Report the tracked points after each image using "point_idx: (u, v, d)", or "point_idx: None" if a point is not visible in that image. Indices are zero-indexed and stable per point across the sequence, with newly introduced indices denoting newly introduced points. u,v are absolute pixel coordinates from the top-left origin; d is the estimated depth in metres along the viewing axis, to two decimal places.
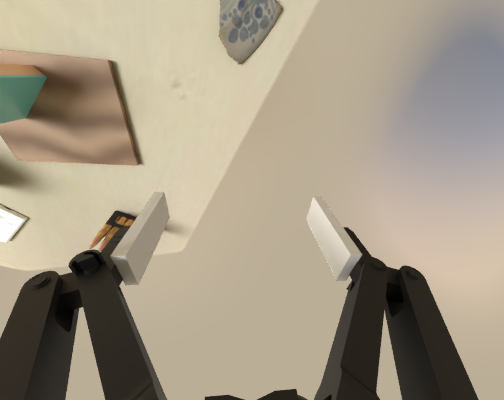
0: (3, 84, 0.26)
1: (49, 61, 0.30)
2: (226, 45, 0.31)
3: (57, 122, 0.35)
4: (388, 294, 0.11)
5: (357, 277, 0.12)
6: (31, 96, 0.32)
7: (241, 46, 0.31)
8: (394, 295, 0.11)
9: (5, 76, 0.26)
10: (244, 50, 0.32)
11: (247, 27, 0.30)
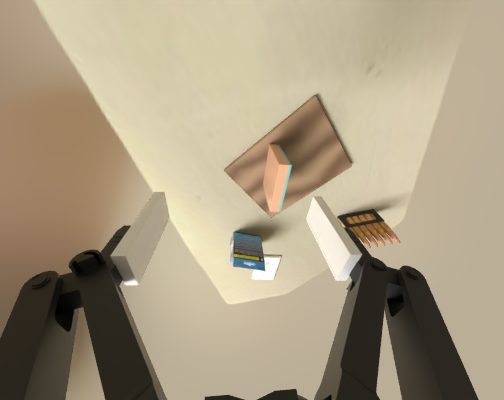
0: None
1: (278, 132, 0.38)
2: None
3: (290, 173, 0.44)
4: (388, 294, 0.11)
5: (357, 277, 0.12)
6: None
7: None
8: (394, 295, 0.11)
9: (285, 155, 0.34)
10: None
11: None
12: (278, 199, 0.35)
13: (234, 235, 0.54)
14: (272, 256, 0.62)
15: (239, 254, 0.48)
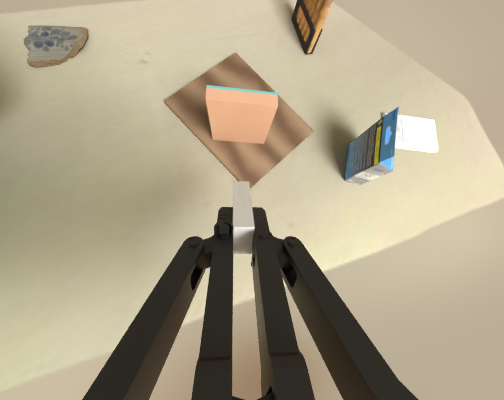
0: None
1: (199, 131, 0.36)
2: (80, 37, 0.36)
3: None
4: None
5: (254, 252, 0.13)
6: None
7: (73, 30, 0.36)
8: (280, 263, 0.12)
9: None
10: (73, 28, 0.37)
11: (59, 35, 0.36)
12: (257, 96, 0.26)
13: (348, 177, 0.37)
14: None
15: (373, 157, 0.31)
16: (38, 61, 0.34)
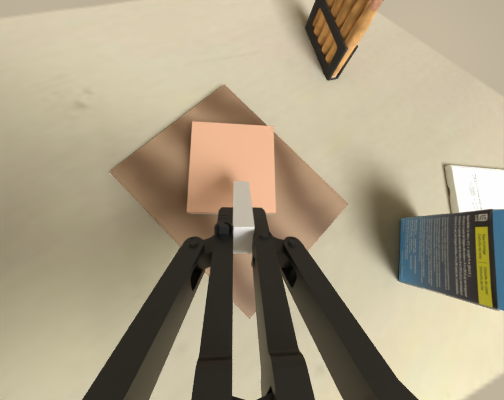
0: None
1: (167, 220, 0.22)
2: None
3: None
4: None
5: (254, 252, 0.13)
6: None
7: None
8: (280, 263, 0.12)
9: None
10: None
11: None
12: None
13: (408, 281, 0.23)
14: (450, 184, 0.28)
15: (474, 285, 0.17)
16: None
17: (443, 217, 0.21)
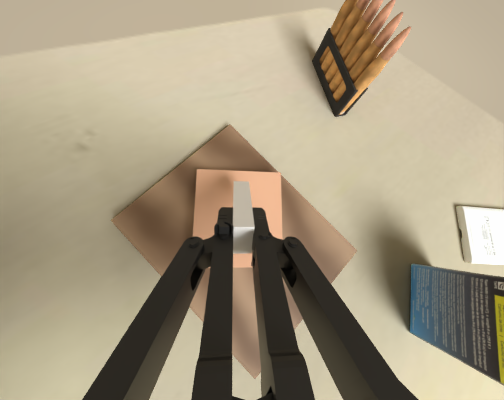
0: None
1: None
2: None
3: None
4: None
5: (254, 253, 0.13)
6: None
7: None
8: (280, 263, 0.12)
9: None
10: None
11: None
12: None
13: (420, 335, 0.22)
14: (462, 226, 0.27)
15: (495, 360, 0.16)
16: None
17: (458, 274, 0.20)
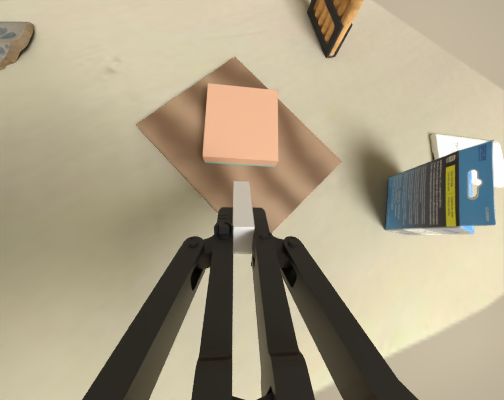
0: None
1: (185, 167, 0.25)
2: (21, 34, 0.26)
3: None
4: None
5: (254, 252, 0.13)
6: None
7: (11, 26, 0.27)
8: (280, 263, 0.12)
9: None
10: (12, 23, 0.27)
11: None
12: None
13: (392, 227, 0.27)
14: (435, 150, 0.31)
15: (443, 213, 0.20)
16: None
17: (422, 166, 0.24)
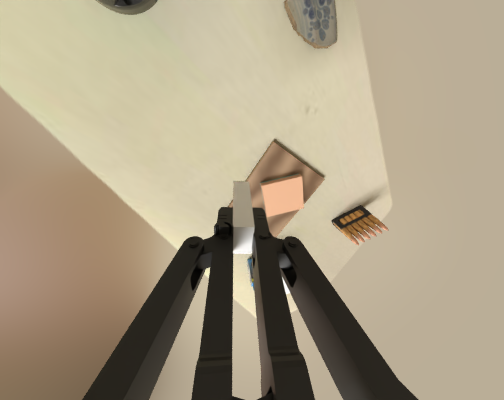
0: None
1: (255, 174, 0.48)
2: (323, 44, 0.37)
3: None
4: None
5: (254, 252, 0.13)
6: None
7: (330, 31, 0.37)
8: (280, 263, 0.12)
9: (284, 177, 0.50)
10: (333, 30, 0.37)
11: (323, 17, 0.36)
12: None
13: (249, 262, 0.62)
14: None
15: None
16: (290, 11, 0.35)
17: None
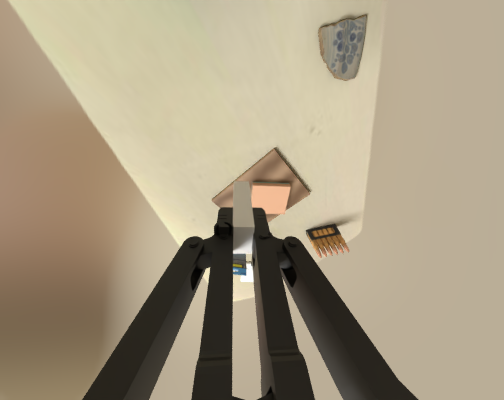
0: None
1: (250, 173, 0.52)
2: (343, 77, 0.40)
3: None
4: None
5: (254, 252, 0.13)
6: None
7: (352, 66, 0.40)
8: (280, 263, 0.12)
9: None
10: (355, 66, 0.40)
11: (349, 53, 0.38)
12: None
13: None
14: None
15: None
16: (321, 38, 0.37)
17: (244, 259, 0.66)
